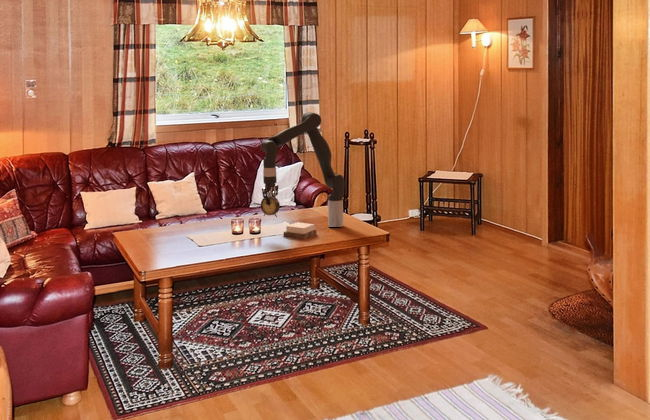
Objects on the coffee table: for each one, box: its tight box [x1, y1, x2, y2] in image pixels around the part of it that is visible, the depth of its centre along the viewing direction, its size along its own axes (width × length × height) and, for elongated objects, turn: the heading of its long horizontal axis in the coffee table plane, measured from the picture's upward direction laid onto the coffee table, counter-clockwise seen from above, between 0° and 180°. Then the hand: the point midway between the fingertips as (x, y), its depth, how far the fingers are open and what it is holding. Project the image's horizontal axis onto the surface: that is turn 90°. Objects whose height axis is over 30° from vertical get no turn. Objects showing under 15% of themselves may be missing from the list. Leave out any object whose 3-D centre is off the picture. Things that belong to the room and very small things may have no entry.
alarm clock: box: [260, 192, 281, 218], centre depth 415 cm, size 11×5×16 cm, turn 62°
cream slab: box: [285, 221, 315, 234], centre depth 421 cm, size 12×12×4 cm
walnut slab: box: [283, 229, 317, 240], centre depth 421 cm, size 14×14×4 cm
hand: (270, 203), depth 415 cm, fingers closed on alarm clock, 5 cm apart
